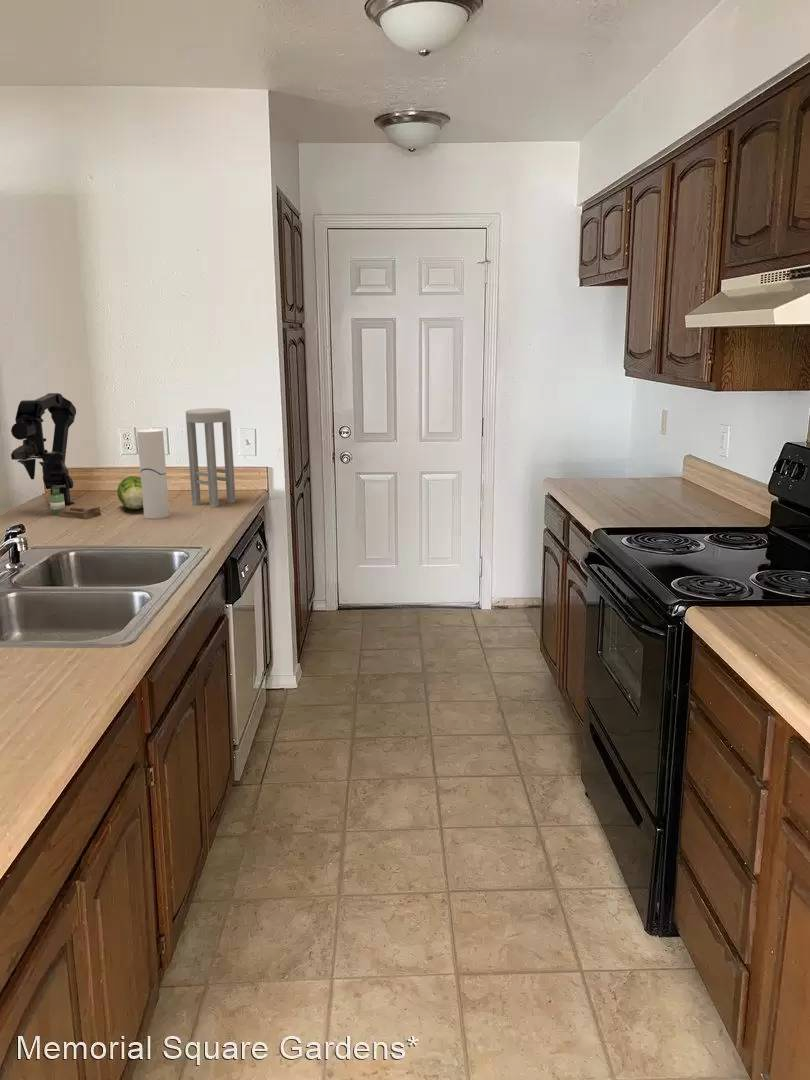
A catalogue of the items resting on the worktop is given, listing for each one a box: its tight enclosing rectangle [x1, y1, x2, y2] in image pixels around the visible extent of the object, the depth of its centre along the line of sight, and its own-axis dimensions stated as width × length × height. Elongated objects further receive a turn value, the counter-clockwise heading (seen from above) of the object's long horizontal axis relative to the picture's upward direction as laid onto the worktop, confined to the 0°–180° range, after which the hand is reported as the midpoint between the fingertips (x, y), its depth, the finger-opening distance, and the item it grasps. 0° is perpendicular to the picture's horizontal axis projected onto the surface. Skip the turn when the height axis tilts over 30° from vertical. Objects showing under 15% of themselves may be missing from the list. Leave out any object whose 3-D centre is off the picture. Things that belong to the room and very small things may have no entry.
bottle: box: [48, 486, 66, 516], centre depth 298 cm, size 5×5×10 cm
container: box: [136, 428, 170, 520], centre depth 291 cm, size 9×9×30 cm
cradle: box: [58, 506, 102, 520], centre depth 295 cm, size 7×12×3 cm, turn 68°
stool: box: [185, 407, 236, 508], centre depth 311 cm, size 16×16×35 cm
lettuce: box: [116, 475, 143, 510], centre depth 305 cm, size 12×21×11 cm, turn 20°
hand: (39, 479), depth 299 cm, fingers open, 6 cm apart
